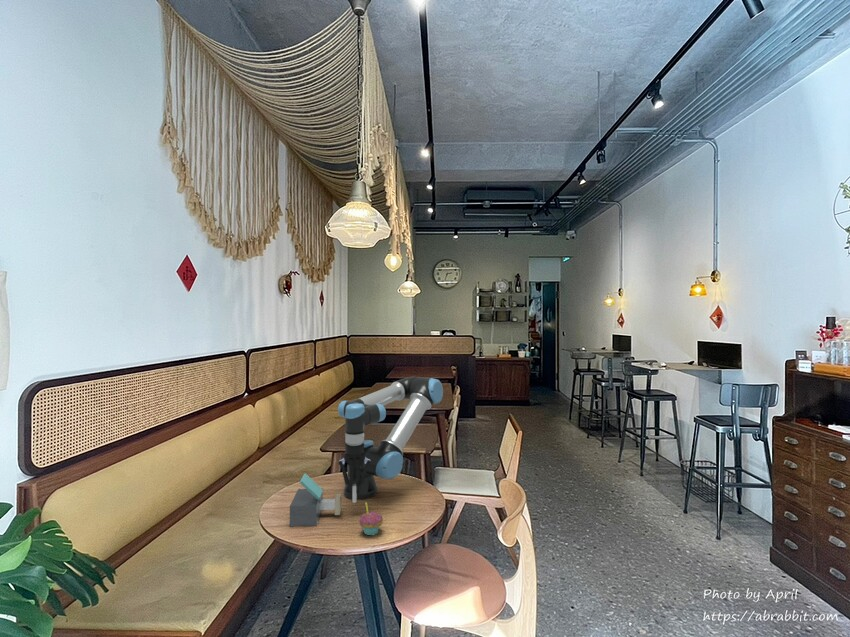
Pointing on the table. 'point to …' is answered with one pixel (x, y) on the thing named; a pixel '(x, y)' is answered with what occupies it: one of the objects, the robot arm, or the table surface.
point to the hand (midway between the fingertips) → (354, 501)
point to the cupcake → (370, 522)
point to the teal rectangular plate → (311, 486)
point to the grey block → (304, 509)
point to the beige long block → (331, 504)
